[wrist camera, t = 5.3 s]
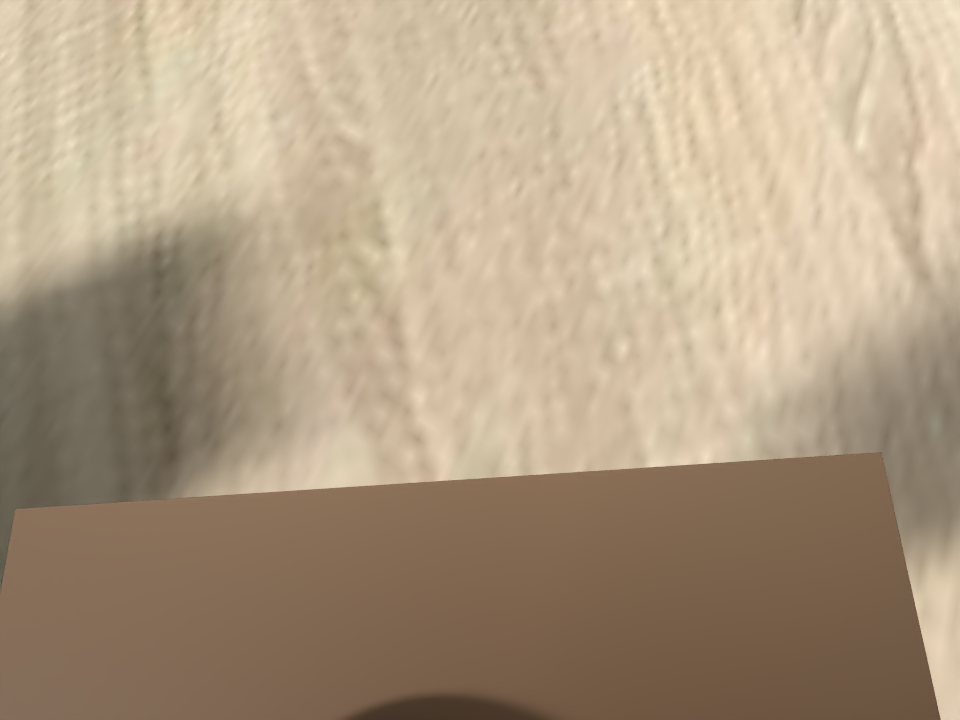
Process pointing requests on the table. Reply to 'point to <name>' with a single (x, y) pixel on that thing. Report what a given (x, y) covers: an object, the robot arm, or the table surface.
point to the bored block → (475, 601)
